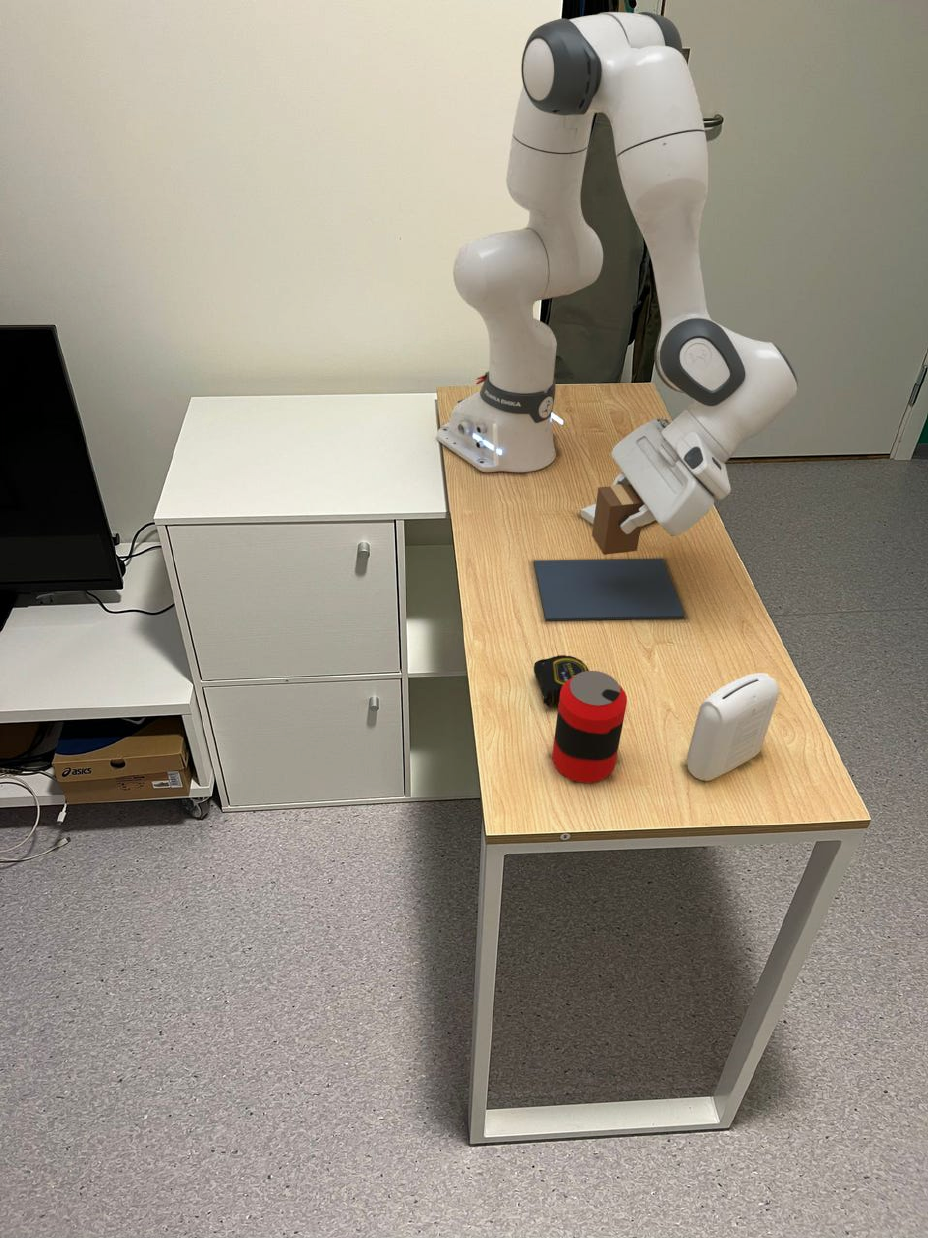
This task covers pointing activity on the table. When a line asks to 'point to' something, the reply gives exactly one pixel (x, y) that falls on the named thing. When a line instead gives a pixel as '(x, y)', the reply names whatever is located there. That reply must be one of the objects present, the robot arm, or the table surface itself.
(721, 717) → the photo printer
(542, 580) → the desk mat
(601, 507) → the box
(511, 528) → the table surface
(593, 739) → the soda can
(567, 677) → the tape measure
